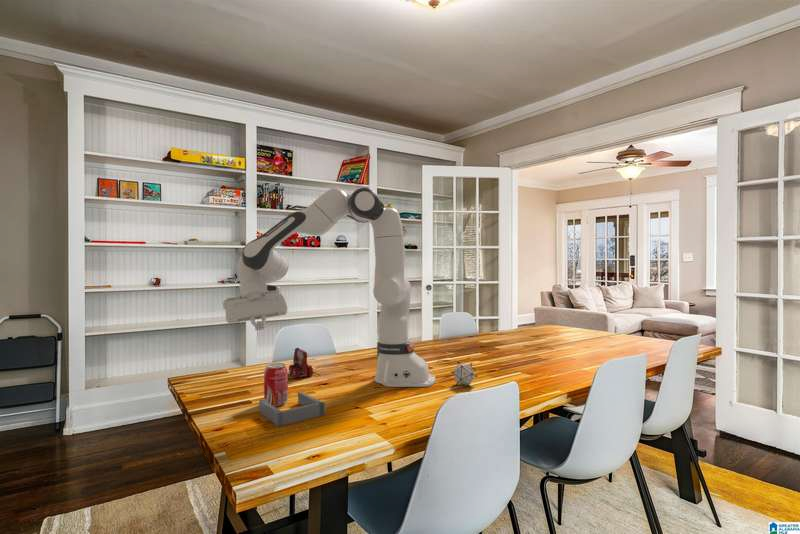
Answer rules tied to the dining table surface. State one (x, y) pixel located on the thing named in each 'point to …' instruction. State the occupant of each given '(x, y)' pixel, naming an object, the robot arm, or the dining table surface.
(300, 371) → the toy fire truck
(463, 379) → the game die
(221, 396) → the dining table surface
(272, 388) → the soda can
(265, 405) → the corral
